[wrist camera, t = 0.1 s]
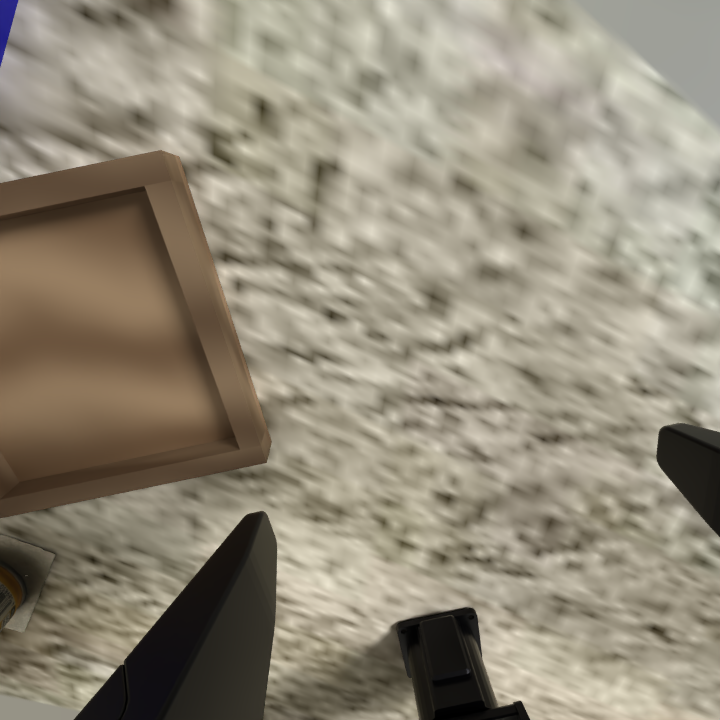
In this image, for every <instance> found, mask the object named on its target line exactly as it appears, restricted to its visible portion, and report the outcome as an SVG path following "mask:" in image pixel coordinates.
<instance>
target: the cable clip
mask: <svg viewBox="0 0 720 720" xmlns="http://www.w3.org/2000/svg"><path fill="white" fill-rule="evenodd" d="M17 3H18V0H0V66H1V62H2V59H3V55H4V51H5V48H6V44H7V40H8V36H9V33H10V29H11V25H12V22H13V18H14V14H15V10H16V7H17Z"/></svg>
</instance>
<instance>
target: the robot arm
mask: <svg viewBox="0 0 720 720" xmlns="http://www.w3.org/2000/svg"><path fill="white" fill-rule="evenodd" d="M656 458H657V462H658V464H659V466H660V468H661V469H662V470H663V472H664V473H665V474H666V475H667V476H668V478H669V479H670V480H671V481H672V482H673V483H674V485H675V486H676V487H677V488H678V489H679V491H680V492H681V493H682V494H683V495H684V497H685V498H686V499H687V500H688V501H689V503H690V504H691V505H692V506H693V507H694V509H695V510H696V511H697V512H698V513H699V515H700V516H701V517H702V518H703V519H704V520H705V522H706V523H707V524H708V525H709V526H710V527H711V528H712V529H713V530H714V532H715V533H716V534H717V535H718V536H719V537H720V432H717V431H713V430H709V429H705V428H701V427H697V426H693V425H689V424H685V423H677V424H672V425H667V426H664V427H662V428H661V429H660V431H659V436H658V445H657V455H656ZM276 575H277V542H276V538H275V535H274V532H273V529H272V527H271V524H270V521H269V518H268V516H267V514H266V513H265V512H264V511H260V512H255V513H250V514H247V515H246V516H245V517H244V518H243V519H242V520H241V521H240V523H239V524H238V525H237V526H236V527H235V529H234V530H233V531H232V532H231V533H230V535H229V536H228V537H227V538H226V539H225V541H224V542H223V543H222V544H221V545H220V547H219V548H218V549H217V550H216V551H215V552H214V554H213V555H212V556H211V557H210V558H209V560H208V561H207V562H206V563H205V564H204V566H203V567H202V568H201V569H200V570H199V572H198V573H197V574H196V575H195V576H194V578H193V579H192V580H191V581H190V582H189V584H188V585H187V586H186V587H185V588H184V590H183V591H182V592H181V593H180V594H179V596H178V597H177V598H176V599H175V600H174V602H173V603H172V604H171V605H170V606H169V608H168V609H167V610H166V611H165V612H164V614H163V615H162V616H161V617H160V618H159V619H158V621H157V622H156V623H155V624H154V625H153V627H152V628H151V629H150V630H149V631H148V633H147V634H146V635H145V636H144V637H143V639H142V640H141V641H140V642H139V643H138V645H137V646H136V647H135V648H134V649H133V651H132V652H131V653H130V654H129V655H128V657H127V658H126V659H125V660H124V665H120V666H119V667H118V668H117V670H116V671H115V672H114V673H113V674H112V675H111V677H110V678H109V679H108V680H107V681H106V683H105V684H104V685H103V686H102V687H101V689H100V690H99V691H98V692H97V693H96V694H95V696H94V697H93V698H92V699H91V700H90V701H89V702H88V704H87V705H86V706H85V707H84V708H83V709H82V711H81V712H80V713H79V714H78V715H77V716H76V718H75V719H74V720H263V713H264V706H265V698H266V690H267V682H268V675H269V667H270V659H271V651H272V643H273V636H274V627H275V614H276ZM397 633H398V637H399V641H400V646H401V650H402V654H403V659H404V663H405V667H406V671H407V676H408V677H409V678H412V682H413V688H414V694H415V699H416V705H417V710H418V716H419V720H530V718H529V716H528V714H527V712H526V710H525V708H524V706H523V704H522V702H521V701H517V702H513V704H511V705H506V706H502V707H498V704H497V701H496V698H495V695H494V692H493V689H492V686H491V683H490V680H489V677H488V675H487V672H486V669H485V666H484V663H483V660H482V652H481V643H480V635H479V626H478V618H477V614H476V611H475V610H474V609H473V608H468V609H463V610H459V611H454V612H449V613H444V614H440V615H435V616H430V617H425V618H420V619H416V620H411V621H406V622H402V623H399V624H398V625H397Z"/></svg>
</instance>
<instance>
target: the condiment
mask: <svg viewBox="0 0 720 720" xmlns="http://www.w3.org/2000/svg"><path fill="white" fill-rule="evenodd" d="M54 557H55V554H53V553H51V552H48V551H44V550H43V549H42V548H40V547H36V546H33V545H30V544H28V543H24V542H20V541H18V540H16V539H14V538H10V537H7V536H4V535H0V632H1V631H2V629H3V628H8V629H11V630H15V631H19V632H25V629H26V627H27V624H28V622H29V620H30V618H31V615H32V612H33V610H34V608H35V605H36V602H37V600H38V598H39V595H40V593H41V589H42V586H43V585H44V582H45V580H46V577H47V575H48V573H49V570H50V567H51V564H52V562H53V560H54ZM25 575H27V576H28V577H27V576H25Z"/></svg>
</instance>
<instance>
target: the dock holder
mask: <svg viewBox="0 0 720 720" xmlns="http://www.w3.org/2000/svg"><path fill="white" fill-rule="evenodd" d="M271 443H272V441H271V438H270V435H269V432H268V429H267V426H266V423H265V420H264V417H263V414H262V411H261V407H260V404H259V401H258V398H257V395H256V392H255V389H254V386H253V383H252V380H251V377H250V374H249V370H248V367H247V364H246V361H245V358H244V355H243V352H242V349H241V346H240V343H239V340H238V337H237V333H236V330H235V327H234V324H233V321H232V318H231V315H230V312H229V309H228V306H227V303H226V300H225V296H224V293H223V290H222V287H221V284H220V281H219V278H218V275H217V272H216V269H215V266H214V263H213V259H212V256H211V253H210V250H209V247H208V244H207V241H206V238H205V235H204V232H203V229H202V226H201V222H200V219H199V216H198V213H197V210H196V207H195V204H194V201H193V198H192V195H191V192H190V189H189V185H188V182H187V179H186V176H185V173H184V170H183V167H182V164H181V161H180V158H179V156H176V155H173V154H170V153H167V152H165V151H162V150H159V151H154V152H150V153H145V154H140V155H135V156H130V157H125V158H121V159H116V160H111V161H106V162H101V163H96V164H91V165H87V166H82V167H77V168H72V169H67V170H62V171H58V172H53V173H48V174H43V175H38V176H33V177H28V178H24V179H19V180H14V181H9V182H4V183H0V518H4V517H8V516H13V515H18V514H23V513H28V512H32V511H37V510H42V509H47V508H52V507H56V506H61V505H66V504H71V503H76V502H81V501H85V500H90V499H95V498H100V497H105V496H109V495H114V494H119V493H124V492H129V491H133V490H138V489H143V488H148V487H153V486H157V485H162V484H167V483H172V482H177V481H181V480H186V479H191V478H196V477H201V476H205V475H210V474H215V473H220V472H225V471H229V470H234V469H239V468H244V467H249V466H253V465H258V464H263V463H267V459H268V455H269V451H270V447H271Z"/></svg>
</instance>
